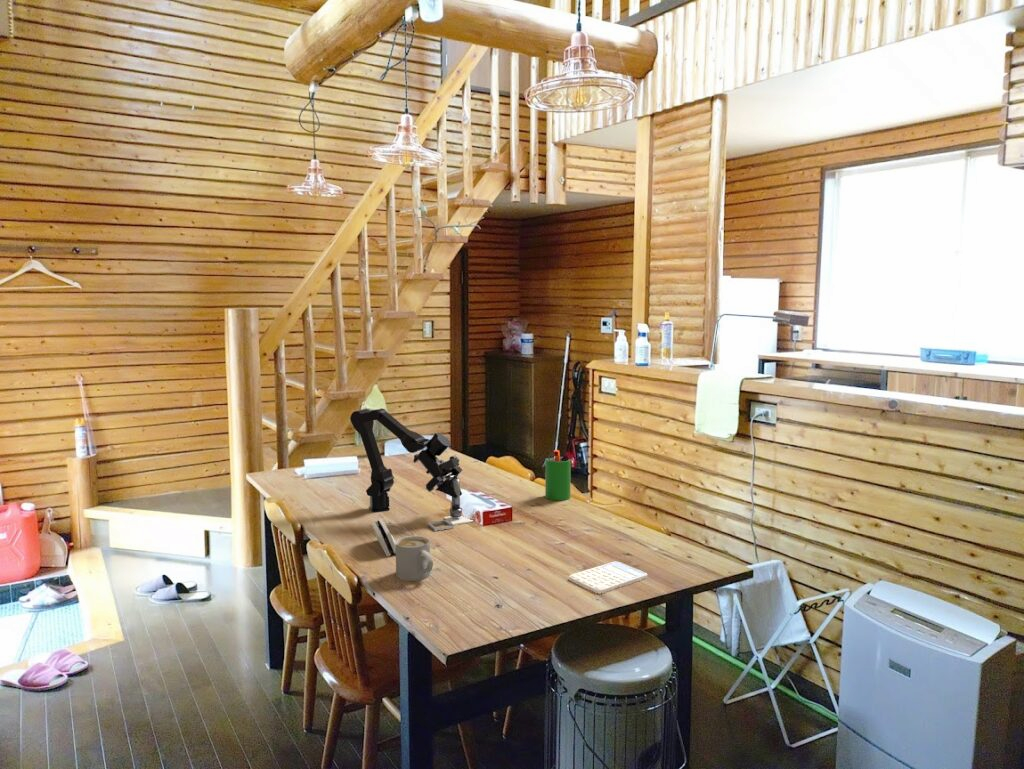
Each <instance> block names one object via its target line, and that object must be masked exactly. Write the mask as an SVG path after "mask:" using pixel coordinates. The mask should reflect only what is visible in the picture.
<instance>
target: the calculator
mask: <svg viewBox="0 0 1024 769" xmlns="http://www.w3.org/2000/svg"><path fill="white" fill-rule="evenodd" d="M647 578H648V573H647V572H645V571H643V570H640V569H638V568H635V567H633V566H631V565H628V564H626V563H624V562H620V561H611V562H608V563H605V564H602V565H598V566H595V567H591V568H589V569H586V570H582V571H580V572H576V573H573V574H570V575H568V580H569V581H570V582H571V583H574V584H576V585H577V586H580V587H582V588H584V589H586V590H588V591H590V590H591V591H590V592H592V591H593V592H592V593H594V592H595V593H594V594H597V593H598V595H601V593H602V594H604V592H605V593H608V592H610V591H609V590H611V591H614V590H616V589H615V588H617V589H619V588H618V587H620V588H622V586H623V587H626V586H628V585H631V584H634V583H637V582H639V581H642V580H646V579H647ZM613 589H614V590H613ZM607 591H608V592H607Z"/></svg>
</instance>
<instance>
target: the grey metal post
mask: <svg viewBox="0 0 1024 769" xmlns="http://www.w3.org/2000/svg"><path fill="white" fill-rule="evenodd" d="M460 480H461V479H460V478H458V477H457V478H454V479H451V484H452V488H453V489H454V491H455V492H456V494H457V496H458V497H457V498H454V497H452V496H451V507H450V508H449V516H451V517H461V516H462V514H463V508H462V507H461V496H460V490H461V488H460V486H461V484H460V483H461V481H460Z"/></svg>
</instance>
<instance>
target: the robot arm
mask: <svg viewBox="0 0 1024 769" xmlns="http://www.w3.org/2000/svg"><path fill="white" fill-rule="evenodd" d="M349 420H350V423H351V425H352V426H353V429H354V430H355V431H356V432H357V433H358V434H359V435H360V438H361V442H362V444H363V448H364V451H365V454H366V457H367V460H368V462H369V465H370V468H371V473H370V483H371V485H370V486H369V487H368V488H367V489H366V490H365V492H366V495H367V496H369V506H368V509H370V511H371V512H373V513H377V512H385V511H390V496H389V493H388V492H390V491H391V490H392V489H391V488H392V487H393V485H394V484H395V481H394V479H395V476H394V474H393V471H392V469H391V468H387V467H386V466H385V464H384V461H383V458H382V456H381V452H380V449H379V446H378V443H377V440H376V437H375V434H374V421H377V422H379V423H380V424H381V425H382V426H383V427H384V428H386V429H387V430H388V431H389V432H390V433H392V434H393V435H394V436H395V437H397V439H399V441H400V443H401V445H402V446H403V448H404V449H405V450H406V452H408V453H410V454H414V453H417V454H414V455H413V463H417V462H420V464H422V466H423V467H424V468H425V469H426V472H425V473H426V475H431V476H432V478H431V479H430V480H428V481H427V482H426V484H425V489H426V490H427V492H429V493H430V492H432V491H434V488H435V487H436V489H435V491H438V492H441V493H443V494H446V495H447V496H450V497H451V498H452V497H454V498H457V497H458V496H457V494H456V492H455V491H454V489H453V488H452V484H451V479H454V478H458V476H459V475H460V474H461V473H462V472H463V469H462V468H461V466H460V458H459V457H457V456H456V455H455V454H454V455H451V456H450V457H449V459H448V460H446V461H445V460H444V459H439V458H438V457H441V455H442V454H443V453H444V452H445V451H446V450H447V449H448V448H449V447H450V446H451V442H450V440H449V439H448V437H446V436H445V435H443V434H441V433H440V432H435V433H434V434H433V435H432V437H431V438H430V439H429V438H426V437H425V436H423V435H422V434H420V433H418V432H416V431H414V430H410V429H409V428H407V427H406V426H405V425H403V424H402V423H401V422H400V421H399V420H397V419H396V418H395V417H394V416H392V415H391V414H390V413H389V412H387V409H385V408H379V409H378V408H377V409H373V410H369V409H368V408H363V409H358V410H355V411H353V412H352V413H351V414H350V417H349ZM425 448H426V449H425ZM418 452H419V453H418ZM462 495H463V492H462V490H461V489H460V497H461V496H462Z"/></svg>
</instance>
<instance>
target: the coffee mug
mask: <svg viewBox="0 0 1024 769" xmlns="http://www.w3.org/2000/svg"><path fill="white" fill-rule="evenodd" d="M430 540H431V539H429V538H428V537H425V536H422V535H421V536H420V535H409V536H405V537H404V536H403V537H400V538H398V539H397V540H395V541H396V544H395V545H396V553H395V575H396V578H397V579H398V580H401V581H405V582H417V581H421V580H425V579H427V578H428V577H430V575H431V571H432V570H433V567H434V560H433V559H434V558H433V556H432V554H431V545H430V544H431V542H430Z"/></svg>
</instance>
